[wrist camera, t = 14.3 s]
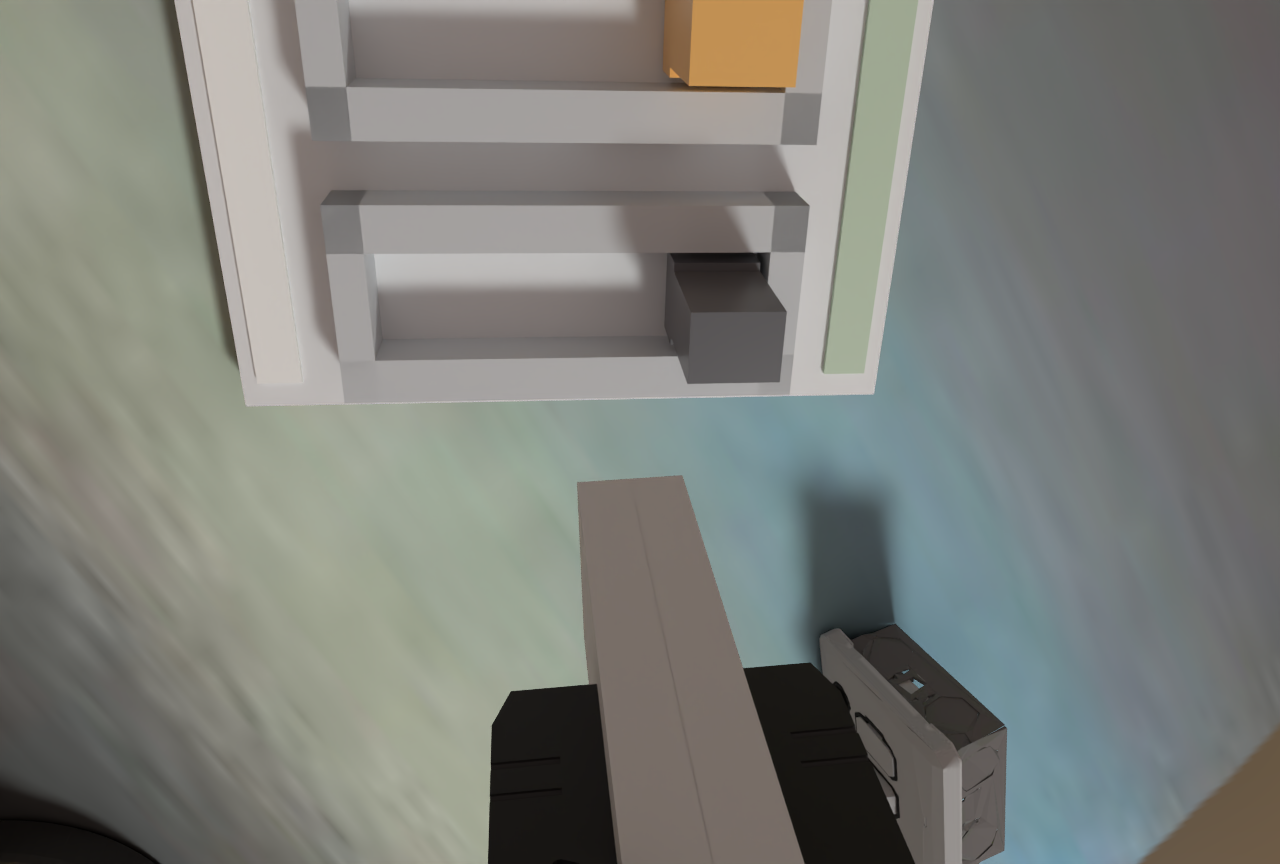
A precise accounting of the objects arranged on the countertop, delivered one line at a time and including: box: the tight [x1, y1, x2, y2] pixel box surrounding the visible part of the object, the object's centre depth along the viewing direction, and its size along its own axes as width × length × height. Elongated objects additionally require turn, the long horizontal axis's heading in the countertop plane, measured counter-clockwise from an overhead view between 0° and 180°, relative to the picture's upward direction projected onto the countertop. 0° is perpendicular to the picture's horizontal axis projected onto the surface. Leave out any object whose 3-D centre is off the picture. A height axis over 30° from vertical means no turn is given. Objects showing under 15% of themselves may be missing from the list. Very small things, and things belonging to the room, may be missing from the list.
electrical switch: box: [819, 624, 1007, 864], centre depth 44 cm, size 9×5×9 cm, turn 9°
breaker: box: [664, 252, 787, 384], centre depth 33 cm, size 3×3×6 cm
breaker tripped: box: [663, 0, 804, 87], centre depth 29 cm, size 3×3×6 cm
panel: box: [174, 0, 934, 406], centre depth 31 cm, size 24×27×4 cm
